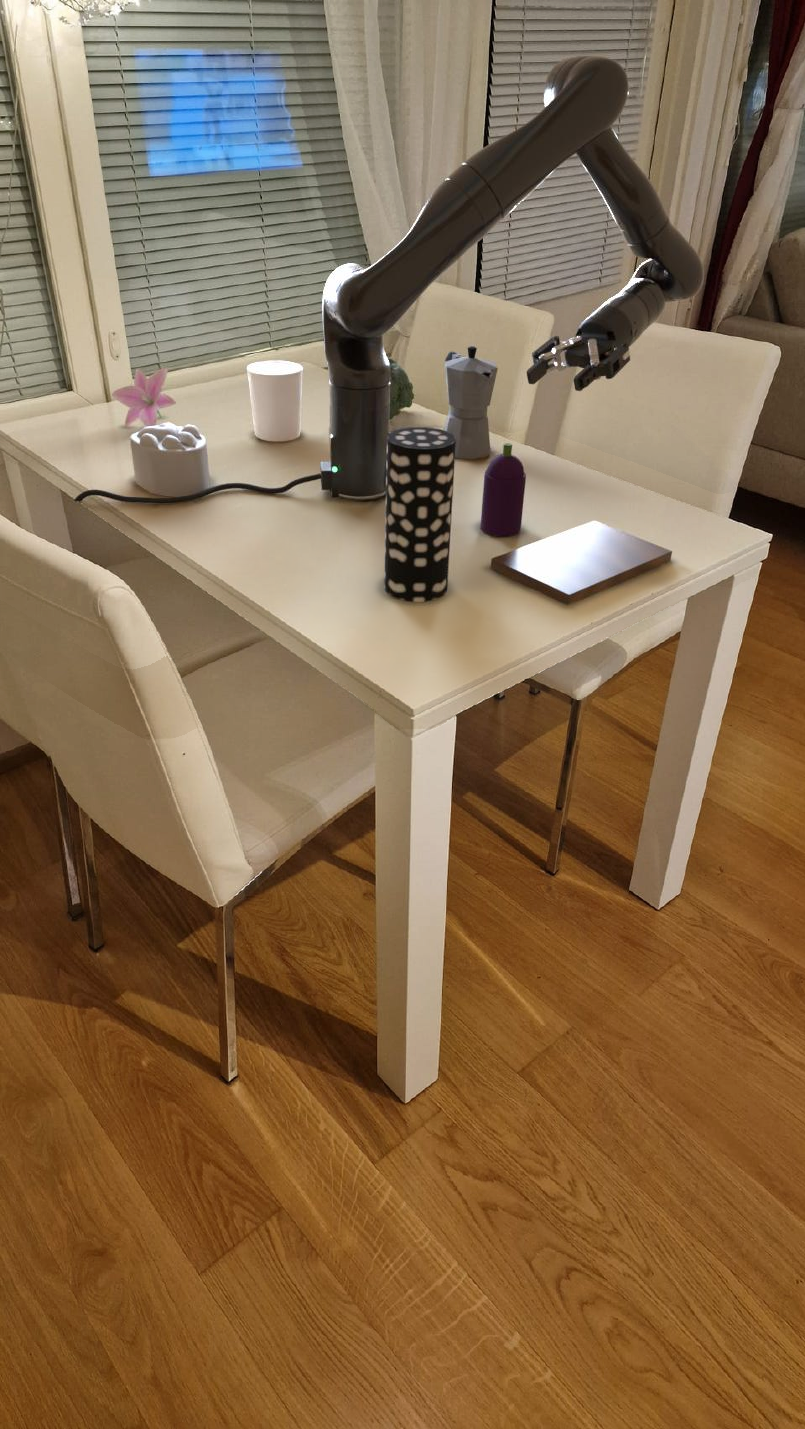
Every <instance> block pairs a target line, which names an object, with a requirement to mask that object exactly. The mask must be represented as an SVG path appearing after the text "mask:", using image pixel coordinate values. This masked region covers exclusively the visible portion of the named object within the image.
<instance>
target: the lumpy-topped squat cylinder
mask: <svg viewBox="0 0 805 1429" xmlns="http://www.w3.org/2000/svg"><path fill="white" fill-rule="evenodd" d="M129 442H130V450H131V458H132V467H133V473H134V481H135V484H137V485H138V486H139V487H140V488H142V489H143V490H145V491H148V492H150V493H152V494H155V495H159V496H165V497H171V498H172V497H182V496H188V495H192V494H195V493H198V492H201V491H203V490H206V489H208V488H211V480H210V479H211V478H210V468H209V457H208V456H209V455H208V445H207V444H208V443H207V439H206V437H205V436H204V435H203V434H201V433H200V431H199V429H198V427H197V426H195V425H192V424H185V425H184V426H178V425H175V424H174V423H171V422H164V423H160V424H156V426H149V427H146V426H145V427H142V429H140V430H139V431H138V432H134V433H131V435H130V437H129Z"/></svg>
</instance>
